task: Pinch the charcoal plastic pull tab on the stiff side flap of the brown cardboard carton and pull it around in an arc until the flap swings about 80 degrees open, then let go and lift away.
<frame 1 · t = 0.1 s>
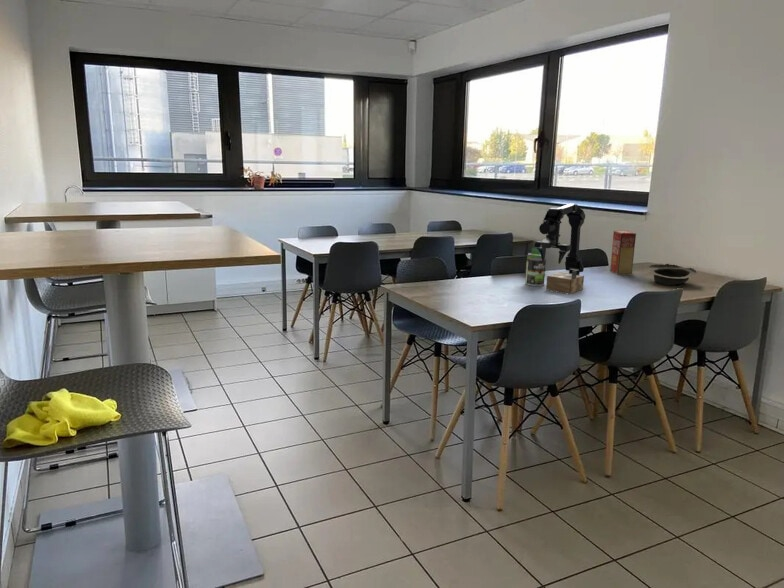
hand: (551, 262, 299), 15 cm above the table, fingers open, 9 cm apart
chalk box: (533, 273, 345), on the table
food packaging: (620, 272, 350), on the table
coffee can: (534, 284, 315), on the table
carton: (563, 289, 302), on the table
stone bowl: (670, 283, 322), on the table
side flap: (577, 280, 296), point 6 cm above the table, hinge at 0.0°
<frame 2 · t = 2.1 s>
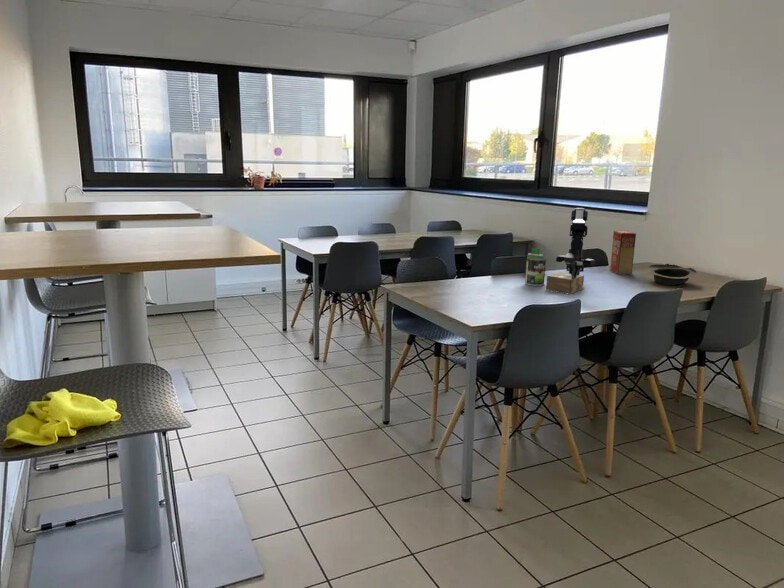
hand: (573, 277, 293), 9 cm above the table, fingers closed on side flap
side flap: (577, 280, 296), point 6 cm above the table, hinge at 0.0°, touching gripper
everything else where it was.
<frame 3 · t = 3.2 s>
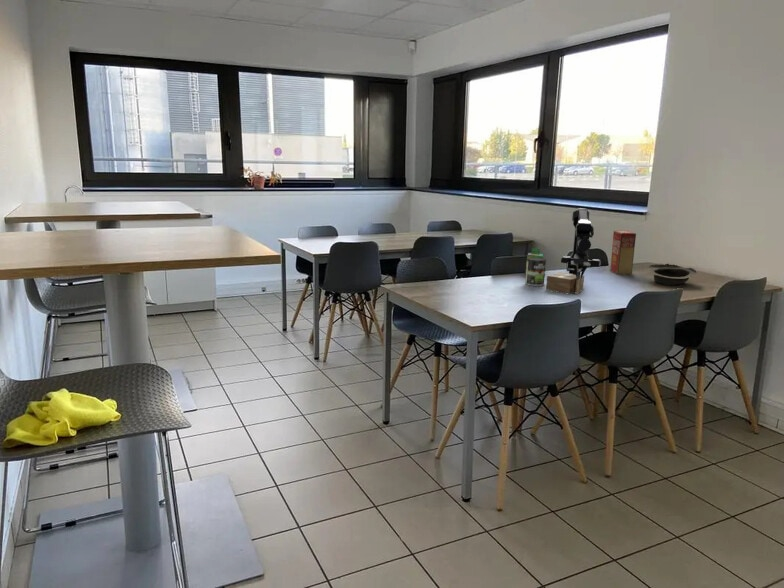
hand: (578, 277, 291), 8 cm above the table, fingers closed
side flap: (580, 281, 296), point 6 cm above the table, hinge at 11.2°, touching gripper
everything else where it was.
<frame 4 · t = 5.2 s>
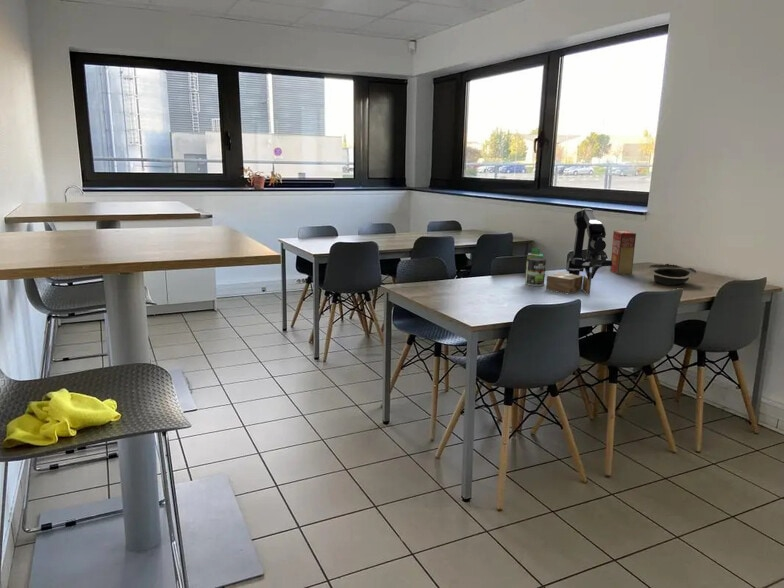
hand: (590, 278, 290), 9 cm above the table, fingers closed
side flap: (586, 281, 295), point 6 cm above the table, hinge at 38.9°, touching gripper
everything else where it was.
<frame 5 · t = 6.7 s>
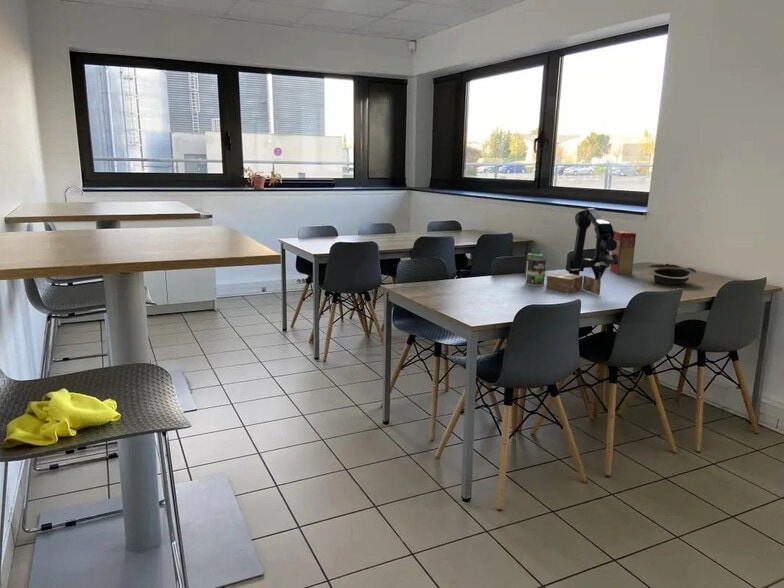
hand: (598, 278, 290), 8 cm above the table, fingers closed
side flap: (591, 281, 295), point 6 cm above the table, hinge at 61.1°, touching gripper
everything else where it was.
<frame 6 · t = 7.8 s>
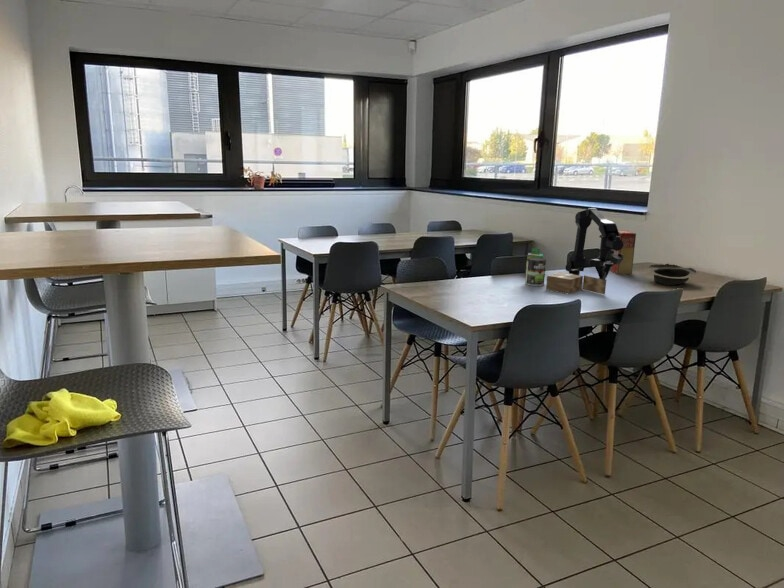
hand: (603, 277, 292), 8 cm above the table, fingers open, 4 cm apart
side flap: (594, 281, 296), point 6 cm above the table, hinge at 76.9°
everything else where it was.
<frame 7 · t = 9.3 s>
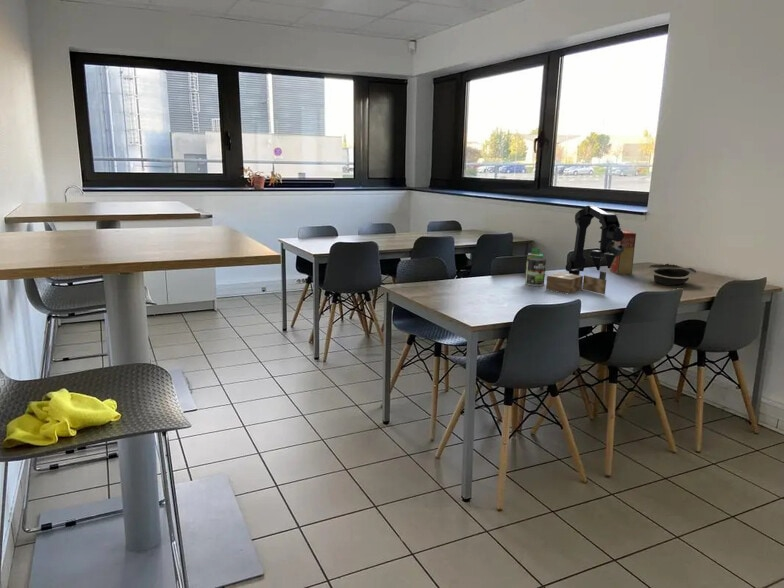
hand: (603, 269, 291), 13 cm above the table, fingers open, 9 cm apart
nothing on the table moved.
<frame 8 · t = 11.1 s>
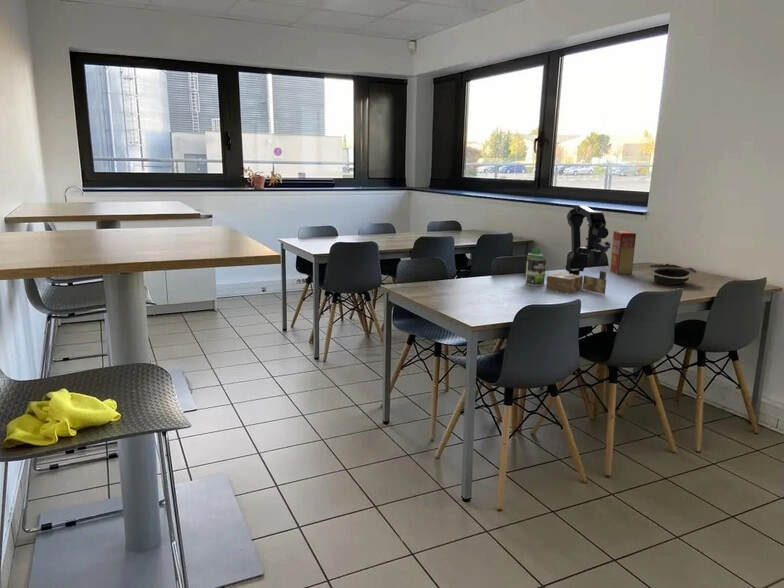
hand: (590, 265, 300), 13 cm above the table, fingers open, 9 cm apart
nothing on the table moved.
at the end: side flap at +77° (first picture: +0°); the gripper is holding nothing; coffee can moved 0.2 cm from its start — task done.
